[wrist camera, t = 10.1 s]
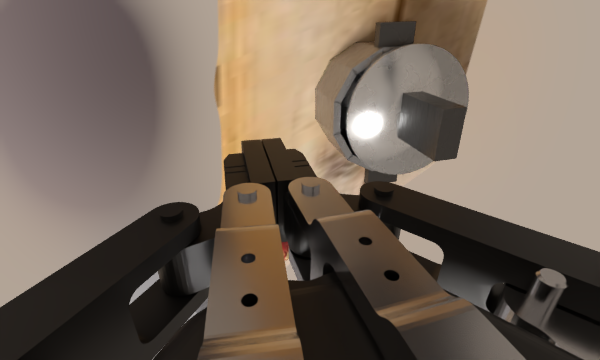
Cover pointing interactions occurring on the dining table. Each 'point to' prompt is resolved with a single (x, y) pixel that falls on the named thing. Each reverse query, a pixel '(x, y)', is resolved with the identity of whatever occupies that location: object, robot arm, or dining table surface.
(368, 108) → the lid
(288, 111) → the dining table surface
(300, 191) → the robot arm
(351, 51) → the pot
